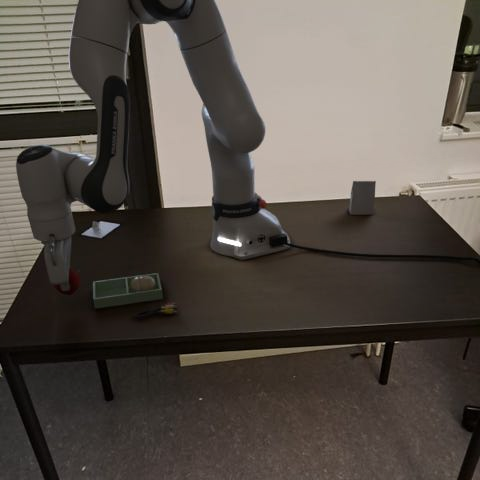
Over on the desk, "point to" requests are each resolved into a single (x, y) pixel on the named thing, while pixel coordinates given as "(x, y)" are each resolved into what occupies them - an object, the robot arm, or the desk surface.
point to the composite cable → (158, 310)
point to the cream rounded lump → (143, 284)
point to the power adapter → (100, 229)
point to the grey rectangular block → (362, 198)
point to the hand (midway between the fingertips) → (66, 281)
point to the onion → (71, 283)
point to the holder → (123, 292)
